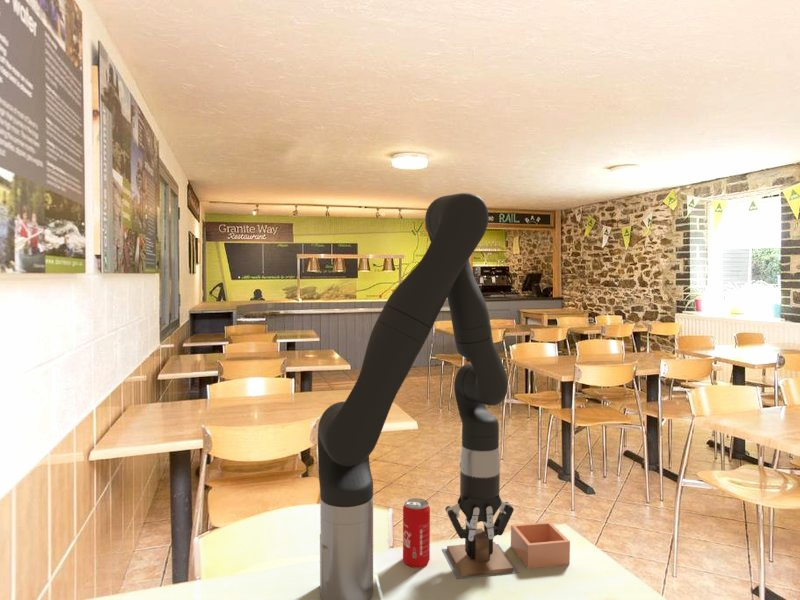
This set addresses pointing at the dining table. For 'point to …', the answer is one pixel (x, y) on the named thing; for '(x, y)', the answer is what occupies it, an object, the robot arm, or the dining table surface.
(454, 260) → the robot arm
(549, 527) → the open salmon box
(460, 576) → the mat
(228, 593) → the dining table surface
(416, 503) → the beverage can
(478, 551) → the lid
